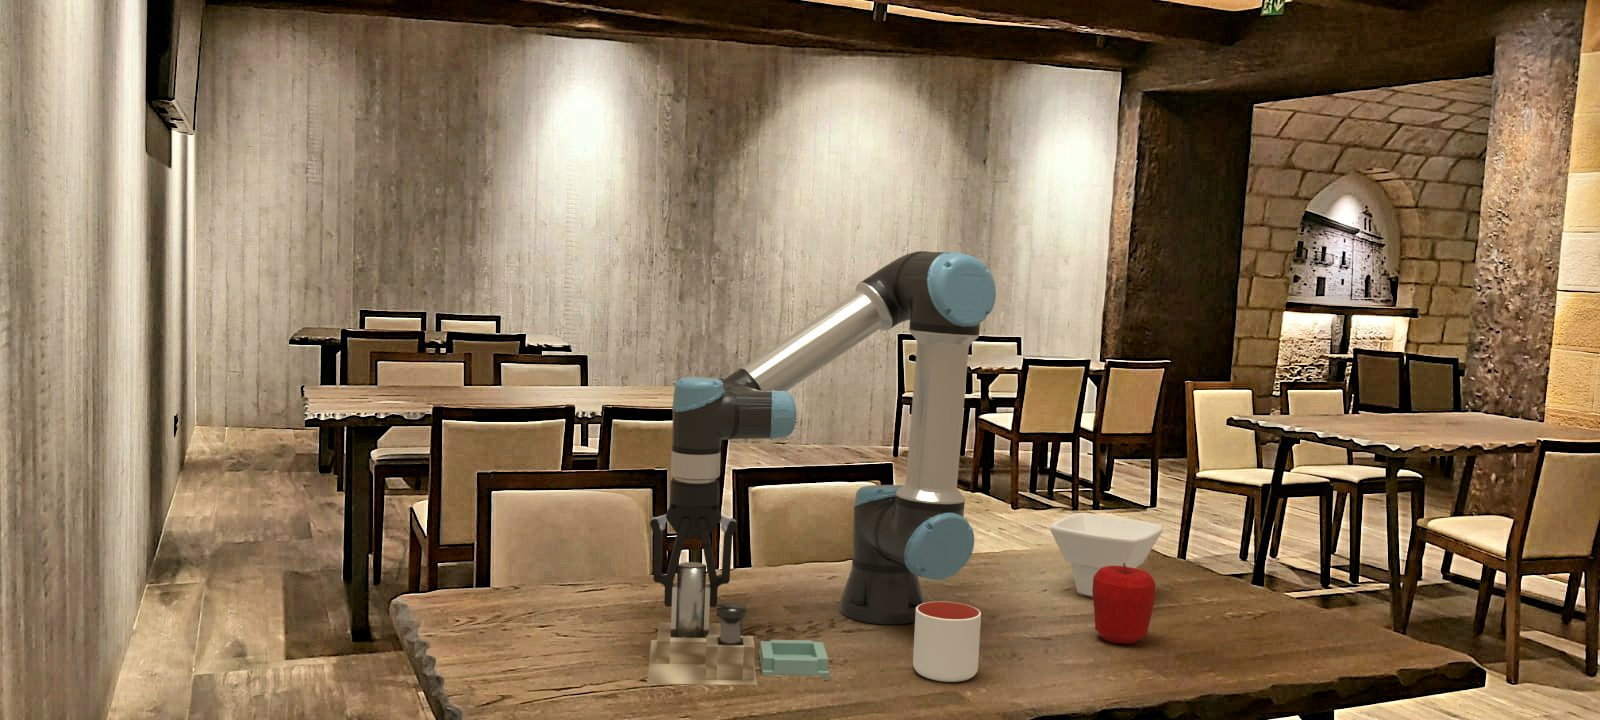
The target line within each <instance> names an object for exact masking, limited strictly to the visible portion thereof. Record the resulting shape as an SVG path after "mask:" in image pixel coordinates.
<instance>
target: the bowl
mask: <svg viewBox="0 0 1600 720" xmlns="http://www.w3.org/2000/svg"><path fill="white" fill-rule="evenodd" d="M1163 528H1164V526H1163V525H1162V524H1159V523H1155V522H1154V523H1153V522H1149V521H1144V520H1140V519H1139V520H1138V519H1131V518H1128V517H1122V516H1121V517H1120V516H1114V515H1105V514H1098V513H1090V512H1089V513H1088V512H1077V513H1072V514H1068V515H1067V516H1064V517H1061V518H1058V519H1056V520H1055V521H1053V522H1052V523H1051V524H1050V526H1049V530H1050V532H1051V535H1052V537H1053V539H1054V541H1055V543H1056V545H1057V546H1058V549H1059V551H1060V553H1061V556H1063V558H1064V562H1066V563H1067V562H1068V563H1070V565H1071V569H1072V570H1071V571H1072V574H1073V578H1074V584H1075V588H1076V592H1077V593H1078V594H1081V595H1085V596H1089V597H1093V592H1092V588H1093V577H1094V575H1095V574H1096V573H1097V572H1098V570H1099V569H1100V568H1102V567H1106V566H1123V564H1124V563H1125V567H1130V568H1136V569H1137V568H1138V567H1139V566H1140V565H1142V564H1144V562H1145V560H1146V559H1147V557H1148V555H1149V554H1150V552H1151V550H1152V549H1153V548H1154V546H1155V544H1156V543H1157V541H1158V540H1159V538H1160V536H1161V534H1162V533H1163V530H1164V529H1163Z"/></svg>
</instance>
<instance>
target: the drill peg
mask: <svg viewBox="0 0 1600 720" xmlns="http://www.w3.org/2000/svg"><path fill="white" fill-rule="evenodd" d="M676 573H677V576H676V577H677V578H676V583H677V610H676V630H675V638H704V608H705V586H706V584H707V583H706V582H707V581H706V580H707V566H706V563H705V564H704V563H702V562H695V561H694V562H693V561H689V562H688V561H687V562H681V563H680V562H679V563H678V566H677V572H676Z"/></svg>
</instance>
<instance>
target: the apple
mask: <svg viewBox="0 0 1600 720" xmlns="http://www.w3.org/2000/svg"><path fill="white" fill-rule="evenodd" d="M1092 592H1093V596H1092V601H1093V613H1094V627H1095V628H1094V629H1095V631H1096V632H1098V634H1099V635H1100V637H1102V638H1103V639H1104V640H1105V641H1106V642H1109V643H1114V644H1115V643H1116V644H1135V643H1137V642H1138V641H1140V640H1141V639H1143V638H1144V637H1145V636H1147V635H1148V631H1149V627H1150V623H1151V617H1152V614H1153V609H1154V605H1155V601H1156V600H1155V599H1156V581H1155V580H1154V578H1153V577H1152V575H1151V574H1150V573H1149V572H1148V571H1147V570H1143V569H1140V568H1137V567H1136V568H1130V567H1125V563H1124V564H1123V566H1106V567H1102V568H1100V569H1099V570H1098V572H1097V573H1096V574H1095V575H1094V577H1093V588H1092Z"/></svg>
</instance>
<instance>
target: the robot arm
mask: <svg viewBox="0 0 1600 720" xmlns="http://www.w3.org/2000/svg"><path fill="white" fill-rule="evenodd" d="M854 291H855V292H854V293H853V294H851V295H850V296H848V297H847V298H845V299H844V300H843V301H841V302H840V303H838V304H836V305H835V306H833V307H832V308H830V309H829V310H827V311H825V312H824V313H822V314H821V315H820V316H818V317H816V318H815V319H814V320H812V321H811V322H809V323H808V324H806V325H805V326H802V328H800V329H798V330H797V331H796V332H794V333H792V334H790V335H789V336H788V337H786V338H784V339H782V341H781V342H779V343H777V344H776V345H774V346H772V347H771V348H770V349H769V350H767V351H765V352H763V353H762V354H760V355H759V356H757V357H756V358H755V359H753V360H751V361H750V362H748V363H747V364H745V365H744V366H742V367H741V368H739V369H738V370H736V371H734V372H733V373H731V374H730V375H728V376H727V377H725V378H724V377H723V378H719V377H718V378H714V377H713V378H712V377H699V376H697V377H695V376H692V377H691V376H689V377H682V378H680V379H678V380H677V381H676V383H675V386H674V392H673V399H672V407H671V410H672V429H671V430H672V433H671V435H672V436H671V437H672V439H671V441H672V444H671V445H672V446H671V454H670V455H671V457H670V458H671V459H670V475H671V476H672V477H673V478H672V479H671V480H670V483H669V484H670V486H669V487H670V488H669V491H670V492H669V507H668V509H667V510H666V513H665V514H663V515H659V516H652V517H651V518H650V521H649V524H650V529H651V531H652V533H653V571H652V572H653V577H652V579H653V582H654V583H657V584H658V583H659V584H662V585H663V587H664V601H663V602H664V603H663V604H664V606H665V607H667V608H668V607H671V612H670V613H671V618H670V619H671V620H670V622H671V629H676V610H677V582H676V583H675V582H674V580H675V577H676V573H677V571H678V564H679V563H680V562H679V561H680V557H681V554H682V551H683V547H684V544H685V540H690V539H696V540H701V544H702V550H703V555H704V560H705V565H706V572H707V575H708V580H709V583H706V586H705V608H704V630H709V623H710V608H717V605H718V589H719V587H720V586H721V585H724V584H725V585H727V584H729V582H730V580H731V579H730V578H731V567H732V565H731V563H732V562H731V561H732V550H733V549H732V546H733V537H734V535H735V534H734V533H735V531H736V528H737V520H736V518H733V517H732V518H729V517H726V516H724V515H722V513H721V510H720V506H719V503H720V502H719V501H720V481H719V480H718V478H719V477H720V475H721V456H722V455H721V453H722V452H721V451H722V440H727V441H728V440H749V439H750V440H760V439H762V440H763V439H766V440H767V439H769V440H773V439H780V438H782V439H783V438H787V437H789V436H791V434H792V433H793V431H794V430H795V427H796V423H797V406H796V401H795V399H794V397H793V396H792V394H791V393H790V392H788V391H789V390H790V389H792V388H794V387H796V385H798V384H799V383H802V381H804V380H806V379H807V378H809V377H810V376H812V375H813V374H814V373H816V372H818V371H819V370H821V369H822V368H823V367H825V366H826V365H828V364H830V363H831V362H833V361H834V360H835V359H837V358H838V357H840V356H842V355H843V354H845V353H846V352H847V351H849V350H851V349H852V348H854V347H855V346H857V345H858V344H860V343H861V342H863V341H864V340H865V339H867V338H869V337H870V336H872V335H873V334H874V333H876V332H877V331H879V330H880V331H884V332H885V331H889V330H891V329H893V328H894V327H895V326H897V325H899V324H901V323H904V322H907V321H909V325H908V326H909V327H908V328H909V330H908V332H909V333H910V334H911V335H912V336H913V338H914V339H915V340H916V342H917V343H916V355H915V365H914V376H913V377H914V379H913V392H912V403H911V404H912V405H911V415H910V427H909V439H908V451H907V464H906V474H905V475H906V476H905V483H904V484H879V485H877V484H876V485H865V486H862V487H860V488H858V490H856V493H855V499H854V503H853V509H854V512H853V514H854V515H853V532H852V533H853V534H852V535H853V536H852V537H853V538H852V556H851V557H852V559H851V560H852V561H851V569H850V572H849V575H848V578H847V581H846V583H845V585H844V589H843V591H842V593H841V597H840V601H839V602H840V605H839V607H840V608H839V611H840V612H841V614H842V615H843V616H845V617H847V618H849V619H852V620H855V621H859V622H863V623H869V624H876V625H905V624H910V623H911V624H912V623H915V613H916V607H917V606H918V605H920V604H923V603H926V602H925V601H926V600H925V598H924V595H923V590H922V586H921V582H920V580H919V577H921V578H925V579H929V580H933V581H934V580H935V581H938V580H939V581H940V580H945V579H949V578H951V577H953V576H954V575H956V574H957V573H959V571H960V570H962V568H964V567H965V566H966V565H967V563H968V562H969V561H970V559H971V556H972V554H973V551H974V547H975V533H974V529H973V527H972V526H971V525H970V523H969V521H968V520H967V519H966V518H965V517H964V514H965V503H966V502H965V501H966V498H965V497H964V495H963V494H962V493H961V492H960V490H959V489H958V478H959V464H960V456H961V455H960V454H961V444H962V443H961V442H962V430H963V419H964V409H965V407H964V406H965V395H966V387H967V386H966V383H967V373H968V362H969V348H970V346H971V344H972V343H974V342H975V341H976V340H977V339H978V338H979V337H980V330H981V323H982V322H983V321H984V320H985V319H986V318H987V316H988V315H990V314H991V312H992V310H993V308H994V305H995V302H996V297H997V295H996V294H997V292H996V283H995V280H994V276H993V274H992V273H991V271H990V270H989V268H988V267H987V266H986V264H985V263H984V262H983V261H982V260H980V259H979V258H977V257H975V256H972V255H969V254H966V253H965V254H964V253H962V252H957V251H949V252H948V251H945V252H942V251H941V252H940V251H927V250H926V251H924V250H923V251H919V250H917V251H913V252H911V253H907V254H904V255H902V256H900V257H898V258H897V259H894V260H893V261H892V262H890V263H888V264H886V265H885V266H883V267H882V268H881V269H880V268H879V269H878V270H877V271H875V272H874V273H873V274H871V275H870V276H868V277H866V278H865V279H863V280H862V281H860V282H859V283H857V284H856V286H855V290H854ZM667 522H668V523H669V524H670V526H671V527H672V529H673V530H674V531H675V533H676V536H675V540H674V544H673V545H674V546H673V549H672V552H671V555H670V559H669V563H668V567H667V572H666V574H664V573H663V572H662V571H663V570H662V569H663V567H662V566H663V565H662V564H663V561H662V560H663V531H664V530H665V529H666V523H667ZM719 523H720V525H721V530H722V532H723V543H722V544H723V545H722V558H721V559H722V560H721V561H722V563H721V573H720V574H718V575H717V571H716V564H715V559H714V558H715V557H714V556H713V555H714V553H713V550H712V549H713V548H712V544H711V543H712V542H711V538H710V534H711V533H712V532H713V531H714V529H716V527H717V526H718V524H719Z"/></svg>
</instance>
